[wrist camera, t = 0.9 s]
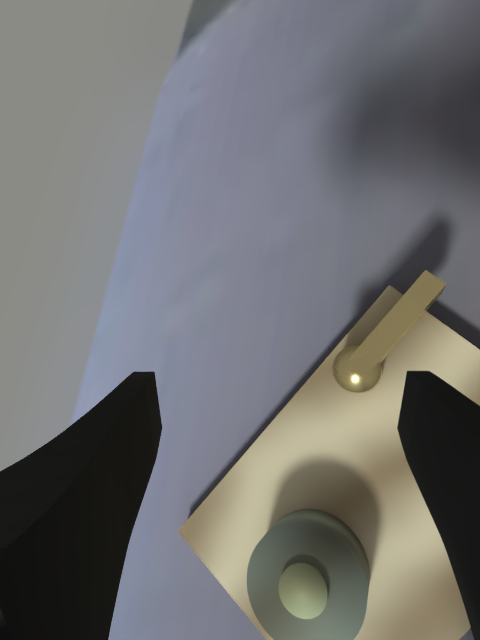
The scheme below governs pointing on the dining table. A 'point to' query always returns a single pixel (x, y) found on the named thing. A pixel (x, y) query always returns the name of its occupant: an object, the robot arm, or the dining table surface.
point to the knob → (385, 337)
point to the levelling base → (340, 506)
